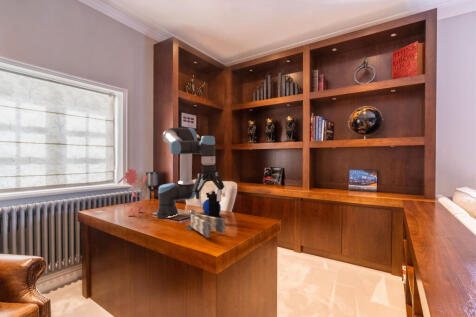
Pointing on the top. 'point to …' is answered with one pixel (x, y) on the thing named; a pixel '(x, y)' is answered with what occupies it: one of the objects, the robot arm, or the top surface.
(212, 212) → the chess piece
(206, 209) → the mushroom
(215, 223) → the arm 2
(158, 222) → the top surface
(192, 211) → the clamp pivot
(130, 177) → the figurine
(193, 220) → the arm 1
